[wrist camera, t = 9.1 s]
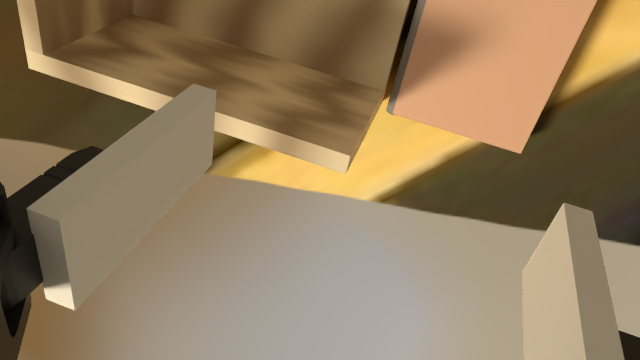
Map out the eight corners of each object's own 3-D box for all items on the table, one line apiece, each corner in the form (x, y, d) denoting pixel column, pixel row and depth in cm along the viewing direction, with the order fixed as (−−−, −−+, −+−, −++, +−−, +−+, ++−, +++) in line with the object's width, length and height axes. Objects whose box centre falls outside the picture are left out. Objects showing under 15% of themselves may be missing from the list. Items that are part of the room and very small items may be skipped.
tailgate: (384, 112, 34) (520, 154, 32) (453, -126, 25) (638, -83, 24) (388, 105, 35) (519, 146, 33) (455, -127, 26) (633, -86, 25)
